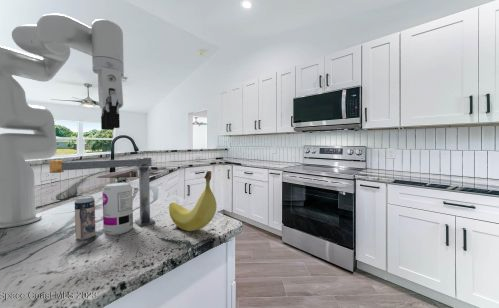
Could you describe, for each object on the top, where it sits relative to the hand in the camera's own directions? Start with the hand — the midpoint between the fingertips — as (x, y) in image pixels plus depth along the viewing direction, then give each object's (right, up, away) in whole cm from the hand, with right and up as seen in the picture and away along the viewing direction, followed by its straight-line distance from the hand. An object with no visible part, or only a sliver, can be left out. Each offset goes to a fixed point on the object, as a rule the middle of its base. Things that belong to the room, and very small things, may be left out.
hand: (110, 128), depth 64 cm
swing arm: (-4, -12, +6) cm, 14 cm away
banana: (+21, -32, +8) cm, 39 cm away
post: (+3, -32, +14) cm, 35 cm away
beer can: (-9, -32, +2) cm, 34 cm away
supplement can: (-2, -32, +7) cm, 33 cm away
